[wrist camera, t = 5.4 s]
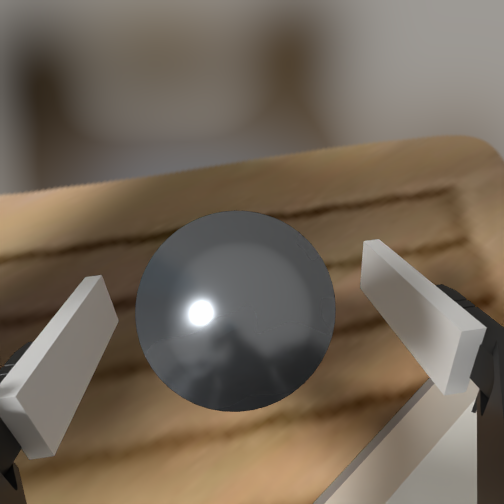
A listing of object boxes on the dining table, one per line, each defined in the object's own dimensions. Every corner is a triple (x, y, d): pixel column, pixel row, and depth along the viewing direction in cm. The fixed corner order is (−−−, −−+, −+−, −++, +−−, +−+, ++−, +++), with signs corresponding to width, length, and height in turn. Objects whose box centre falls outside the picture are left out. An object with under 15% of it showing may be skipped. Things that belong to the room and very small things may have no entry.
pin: (205, 334, 20) (97, 287, 6) (250, 297, 21) (248, 179, 7) (242, 383, 19) (217, 465, 5) (288, 342, 20) (377, 313, 6)
